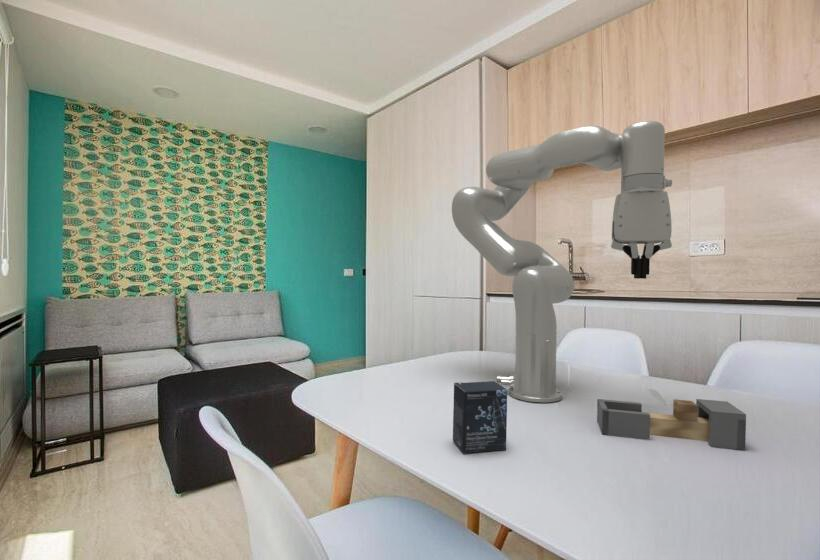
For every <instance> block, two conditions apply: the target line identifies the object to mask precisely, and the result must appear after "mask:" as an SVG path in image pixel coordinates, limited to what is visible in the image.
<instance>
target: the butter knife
mask: <svg viewBox="0 0 820 560" xmlns="http://www.w3.org/2000/svg"><path fill="white" fill-rule="evenodd" d="M648 389H649V391H650V392H651V393H652V394H653V395H654V396H653V395H652V394H651V393H650V392H649V391H648V392H649V393H650V394H651V395H652V396H653V397H654V398H656V397H657V398H658V399H659V400H658V399H657V398H656V399H657V400H658V401H659V402H661V401H662V402H663V403H664V404H663V403H662V402H661V403H662V404H663V405H665V404H667V403H668V402H667V401H666V400H665V399H664V397H663V396H662V395H661V394H660V392H659V391H657V389H654V388H648ZM653 389H654V390H653ZM662 397H663V398H662ZM666 402H667V403H666Z"/></svg>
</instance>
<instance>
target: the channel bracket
mask: <svg viewBox="0 0 820 560" xmlns="http://www.w3.org/2000/svg"><path fill="white" fill-rule="evenodd" d="M695 400H696V401H695V402H696V403H695V404H696V405H697V406H698V412H697V417H699V418H709V435H708V441H707V444H708V445H709V446H710V447H712V448H720V449H729V450H736V451H737V450H739V451H746V440H747V439H746V436H747V435H746V434H747V431H746V430H747V414H746V413H745V412H744V411H742V410H741V409H740V408H738V407H736V406H734V405H733V404H731V403H730V402H729V401H727V400H726V401H725V400H714V399H701V398H696V399H695Z"/></svg>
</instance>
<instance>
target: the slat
mask: <svg viewBox="0 0 820 560" xmlns="http://www.w3.org/2000/svg"><path fill="white" fill-rule="evenodd" d="M672 400H673V404H672V405H673V408H672V410H673V411H672V414H666V413H655V412H648V413H649V414H650V436H655V437H662V438H673V439H675V438H676V439H681V440H682V439H684V440H693V441H702V442H708V435H709V418H699V417H697V412H698V406H697V405H696V403H695V402H694V401H692V400H688V399H687V400H686V399H675V398H674V399H672ZM634 412H636V411H634ZM644 412H645V411H644ZM645 413H647V412H645Z"/></svg>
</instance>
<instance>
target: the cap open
mask: <svg viewBox="0 0 820 560" xmlns="http://www.w3.org/2000/svg"><path fill="white" fill-rule="evenodd" d="M596 406H597V411H596V412H597V413H596V421H597V425H598V426H599V429H601V430H600V432H601V434H602V435H603V436H614V437H623V438H630V439H631V438H632V439H640V440H648V441H649V440H650V438H651V437H650V436H651V435H650V414H649V413H650V412H646V413H645V411H643V404H642V403H641V402H635V401H623V400H613V399H602V398H597V405H596ZM634 411H636V412H634Z"/></svg>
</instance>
